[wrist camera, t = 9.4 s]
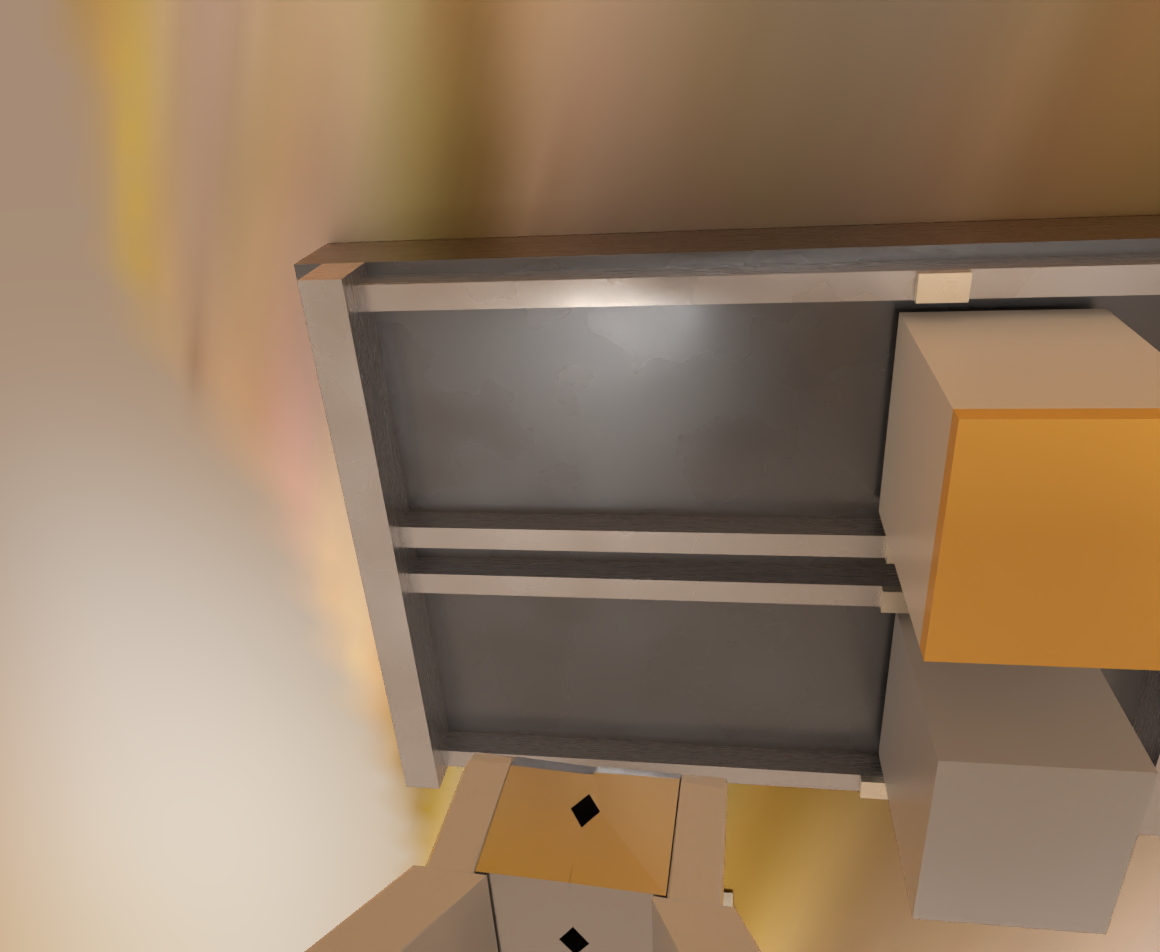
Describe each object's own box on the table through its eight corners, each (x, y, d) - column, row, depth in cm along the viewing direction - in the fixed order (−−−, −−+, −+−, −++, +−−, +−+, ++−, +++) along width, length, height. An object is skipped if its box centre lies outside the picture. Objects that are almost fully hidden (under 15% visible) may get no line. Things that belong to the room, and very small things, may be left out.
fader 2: (1069, 614, 21) (1158, 772, 17) (1034, 761, 24) (1105, 934, 19) (896, 609, 22) (938, 760, 18) (878, 752, 24) (912, 918, 20)
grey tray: (1316, 209, 19) (1428, 249, 16) (1150, 741, 26) (1206, 838, 23) (328, 243, 22) (266, 281, 19) (418, 704, 29) (384, 784, 26)
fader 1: (1106, 308, 18) (1242, 418, 13) (1062, 513, 20) (1164, 670, 15) (899, 312, 19) (959, 418, 14) (878, 511, 21) (923, 661, 16)
